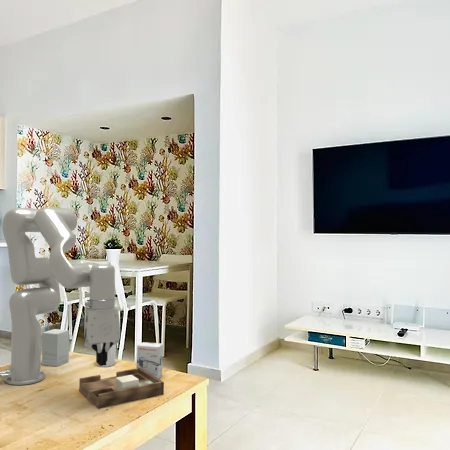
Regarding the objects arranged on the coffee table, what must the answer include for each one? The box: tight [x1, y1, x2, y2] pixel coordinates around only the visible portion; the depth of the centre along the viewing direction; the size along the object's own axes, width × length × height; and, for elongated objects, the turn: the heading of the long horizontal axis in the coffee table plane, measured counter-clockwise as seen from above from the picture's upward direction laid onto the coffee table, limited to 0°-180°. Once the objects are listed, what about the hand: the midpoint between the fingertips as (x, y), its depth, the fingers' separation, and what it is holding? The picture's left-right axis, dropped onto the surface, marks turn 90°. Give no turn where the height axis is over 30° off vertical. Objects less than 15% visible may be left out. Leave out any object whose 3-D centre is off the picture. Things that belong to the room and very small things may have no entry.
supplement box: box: [41, 328, 70, 367], centre depth 177 cm, size 7×7×13 cm
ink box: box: [135, 342, 164, 379], centre depth 163 cm, size 9×5×12 cm, turn 81°
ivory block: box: [115, 375, 139, 390], centre depth 143 cm, size 6×6×4 cm
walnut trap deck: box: [78, 367, 165, 410], centre depth 147 cm, size 22×18×4 cm
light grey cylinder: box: [96, 343, 117, 368], centre depth 177 cm, size 8×8×10 cm
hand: (101, 364), depth 138 cm, fingers closed
